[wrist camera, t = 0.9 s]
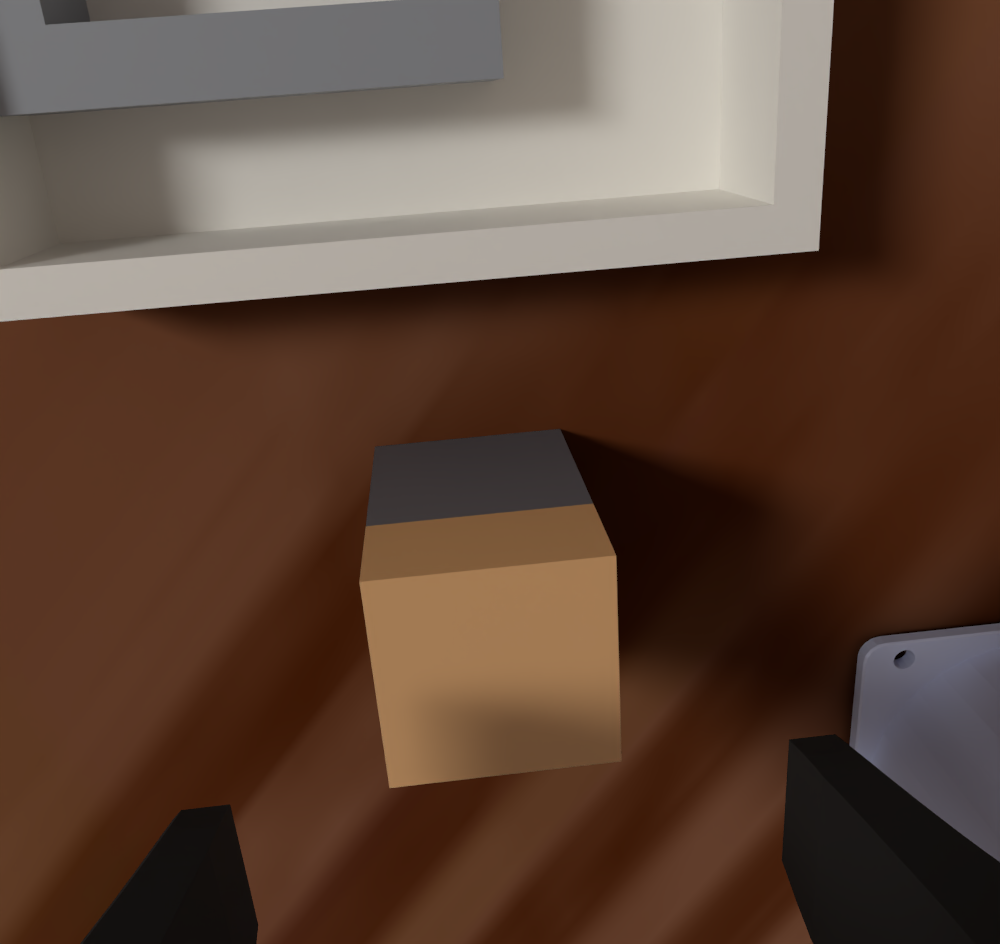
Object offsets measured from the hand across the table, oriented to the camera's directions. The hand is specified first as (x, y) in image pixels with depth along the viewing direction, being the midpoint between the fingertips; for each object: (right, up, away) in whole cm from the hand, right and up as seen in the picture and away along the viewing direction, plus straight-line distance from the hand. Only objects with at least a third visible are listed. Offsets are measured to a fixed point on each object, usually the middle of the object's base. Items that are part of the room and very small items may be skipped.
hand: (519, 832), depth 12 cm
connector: (-1, +4, +9) cm, 9 cm away
